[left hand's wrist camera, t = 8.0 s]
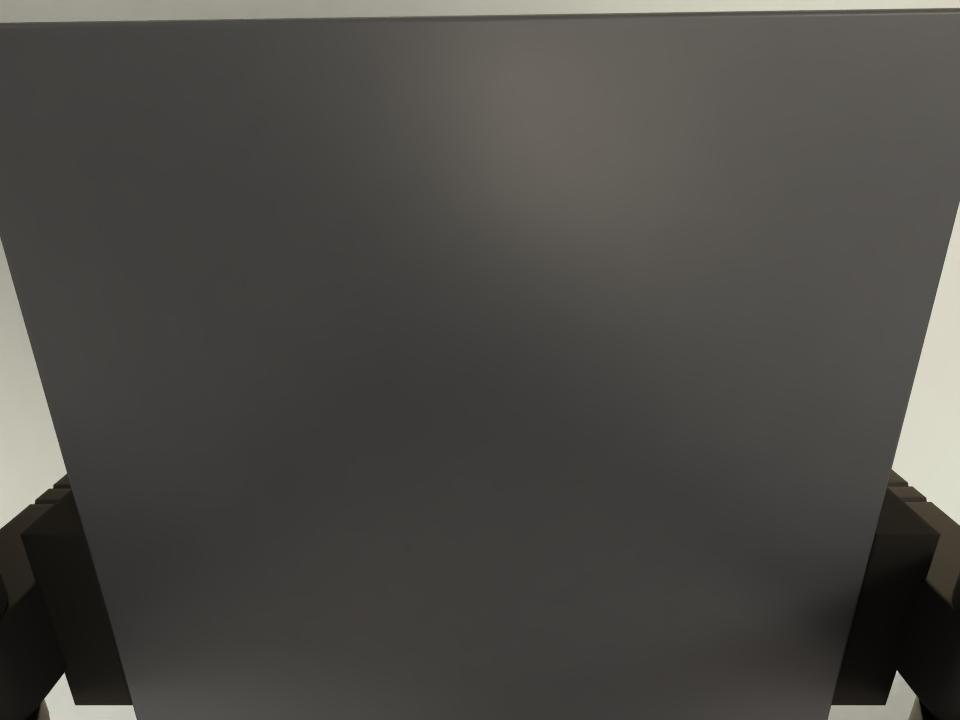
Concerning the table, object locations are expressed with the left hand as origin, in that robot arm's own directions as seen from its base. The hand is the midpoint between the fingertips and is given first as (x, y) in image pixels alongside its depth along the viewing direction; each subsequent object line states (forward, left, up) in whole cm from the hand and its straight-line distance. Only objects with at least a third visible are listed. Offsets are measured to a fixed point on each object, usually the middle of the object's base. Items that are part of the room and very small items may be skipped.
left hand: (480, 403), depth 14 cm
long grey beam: (+23, -10, -1) cm, 25 cm away
